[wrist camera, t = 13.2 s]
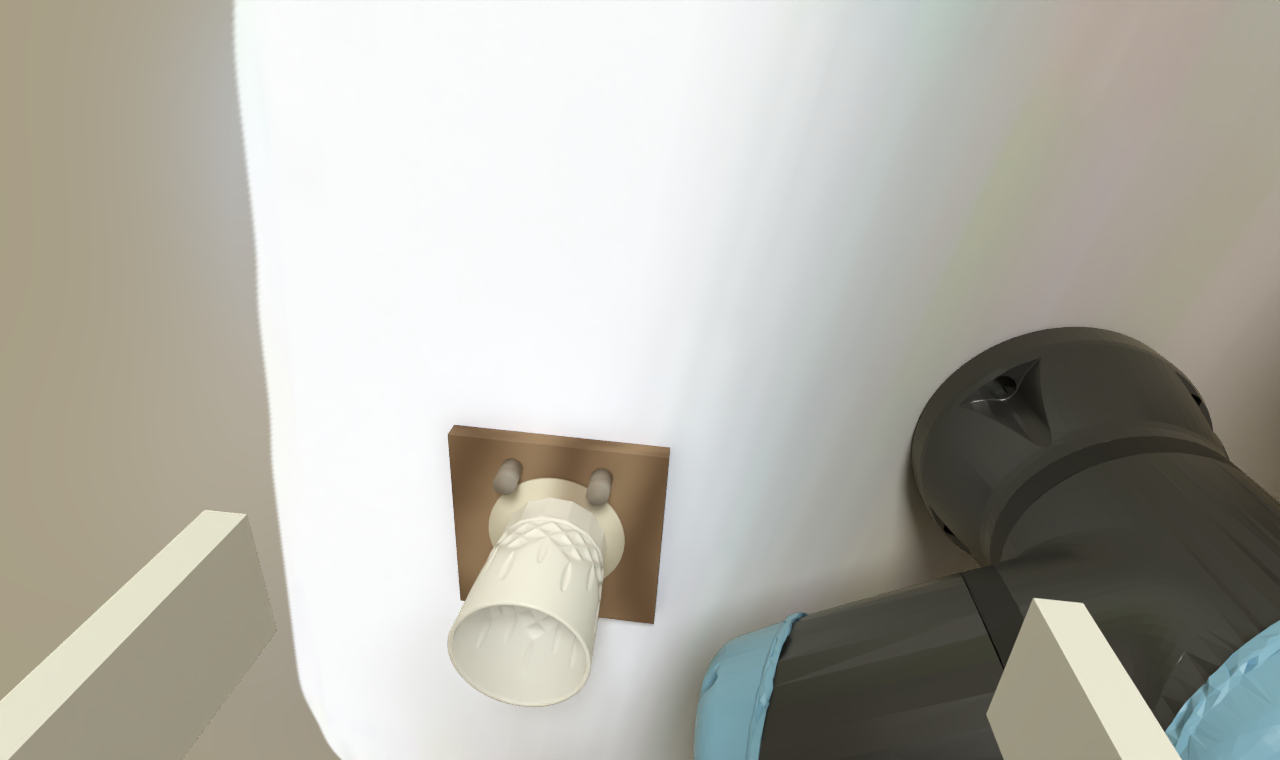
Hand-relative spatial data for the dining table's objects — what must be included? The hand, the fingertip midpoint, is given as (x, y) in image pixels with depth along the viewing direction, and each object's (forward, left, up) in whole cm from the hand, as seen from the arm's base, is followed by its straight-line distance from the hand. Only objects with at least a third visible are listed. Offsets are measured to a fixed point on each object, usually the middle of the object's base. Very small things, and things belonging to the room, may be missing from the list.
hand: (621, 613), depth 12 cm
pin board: (+7, +22, -29) cm, 37 cm away
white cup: (+7, +22, -28) cm, 36 cm away
